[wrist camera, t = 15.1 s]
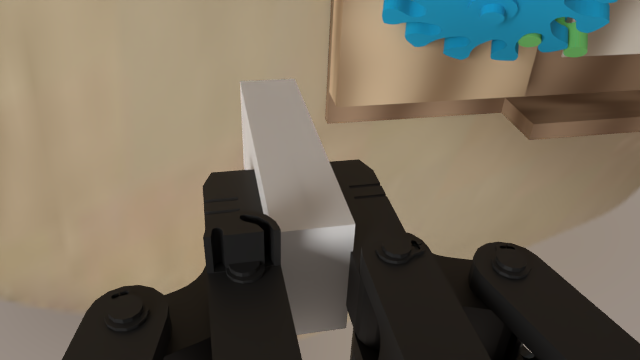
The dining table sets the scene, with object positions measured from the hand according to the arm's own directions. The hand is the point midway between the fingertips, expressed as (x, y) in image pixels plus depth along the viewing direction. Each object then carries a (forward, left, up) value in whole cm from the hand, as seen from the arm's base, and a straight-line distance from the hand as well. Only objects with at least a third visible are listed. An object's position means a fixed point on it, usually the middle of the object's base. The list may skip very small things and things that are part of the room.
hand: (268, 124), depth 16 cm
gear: (+11, +1, -12) cm, 17 cm away
